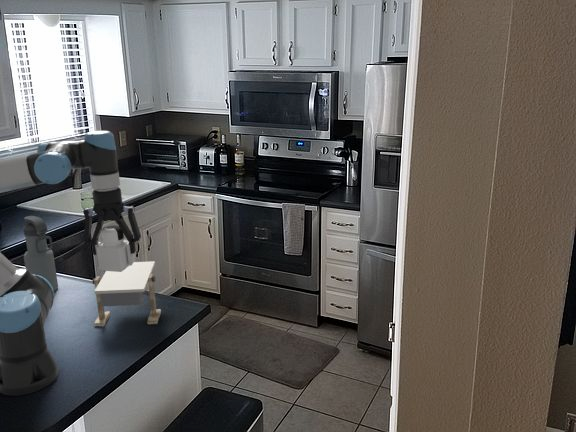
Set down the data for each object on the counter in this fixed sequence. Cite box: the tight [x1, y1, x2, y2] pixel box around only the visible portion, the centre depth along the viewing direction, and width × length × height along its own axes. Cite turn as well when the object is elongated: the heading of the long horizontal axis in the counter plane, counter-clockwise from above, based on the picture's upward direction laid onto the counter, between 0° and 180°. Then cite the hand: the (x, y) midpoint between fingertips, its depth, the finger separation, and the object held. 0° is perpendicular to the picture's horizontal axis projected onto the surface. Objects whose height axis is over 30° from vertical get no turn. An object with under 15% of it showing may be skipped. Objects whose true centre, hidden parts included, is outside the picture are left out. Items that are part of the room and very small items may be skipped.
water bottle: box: [22, 215, 59, 292], centre depth 198 cm, size 10×10×28 cm
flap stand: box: [91, 273, 162, 327], centre depth 177 cm, size 8×20×15 cm, turn 94°
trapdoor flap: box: [94, 260, 156, 307], centre depth 179 cm, size 21×15×5 cm
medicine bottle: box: [96, 225, 129, 272], centre depth 156 cm, size 7×7×12 cm
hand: (116, 264), depth 157 cm, fingers closed on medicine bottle, 8 cm apart
